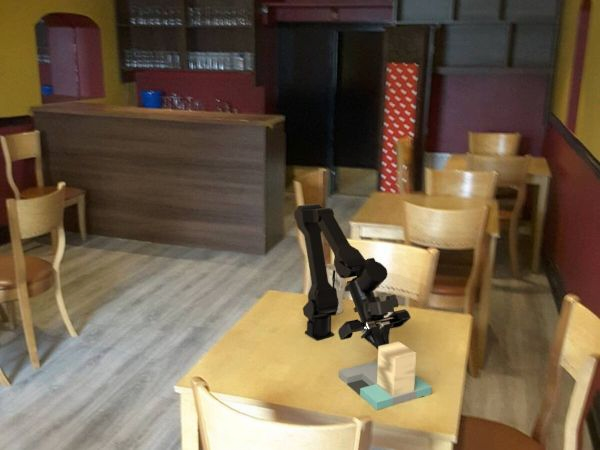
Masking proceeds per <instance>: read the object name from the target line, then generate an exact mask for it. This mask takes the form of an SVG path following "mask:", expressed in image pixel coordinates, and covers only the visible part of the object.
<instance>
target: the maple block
mask: <svg viewBox="0 0 600 450" xmlns="http://www.w3.org/2000/svg"><path fill="white" fill-rule="evenodd" d="M377 352H378V353H377V360H378V370H377V384H378V385H380V386H381V387H382V388H383V389H385V390H386V391H387V392H388V393H390V394H391V395H392V396H393V397H394V396H398V395H401V394H405V393H408V392H411V391H414V382H415V375H416V364H417V363H416V362H417V352H416V351H414V350H412V349H411V348H409V347H408V346H406V345H405V344H404V343H401V342H400V341H399V340H398V341H395V342H389V344H386V345H382V346H378V349H377Z"/></svg>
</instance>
